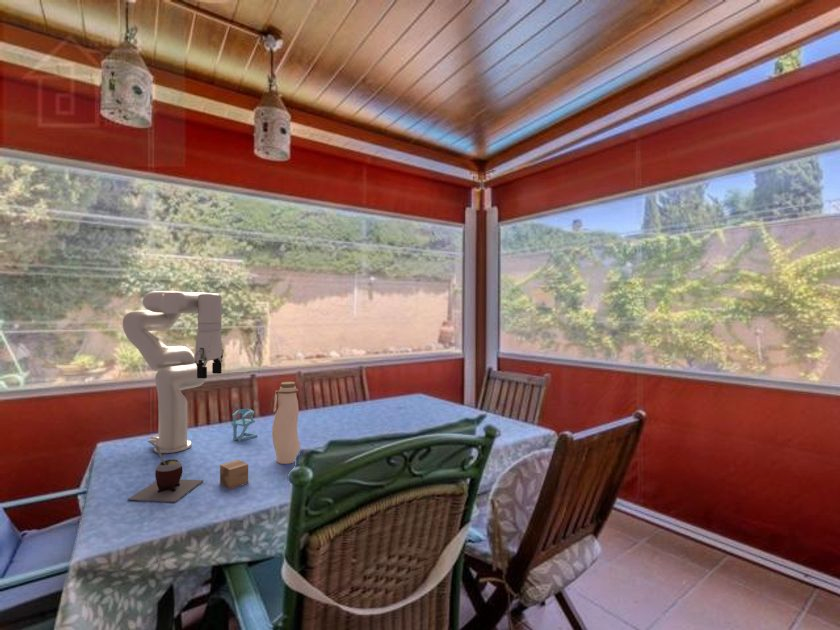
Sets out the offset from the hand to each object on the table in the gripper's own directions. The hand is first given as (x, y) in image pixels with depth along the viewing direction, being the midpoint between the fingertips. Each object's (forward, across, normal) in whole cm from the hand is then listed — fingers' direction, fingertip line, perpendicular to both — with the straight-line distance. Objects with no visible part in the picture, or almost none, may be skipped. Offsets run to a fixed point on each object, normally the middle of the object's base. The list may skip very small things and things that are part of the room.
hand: (209, 375), depth 151 cm
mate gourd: (+30, +25, +1) cm, 39 cm away
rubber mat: (+30, +25, +1) cm, 39 cm away
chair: (+31, -24, +1) cm, 39 cm away
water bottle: (+31, -2, +27) cm, 41 cm away
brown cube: (+30, +18, +18) cm, 40 cm away
